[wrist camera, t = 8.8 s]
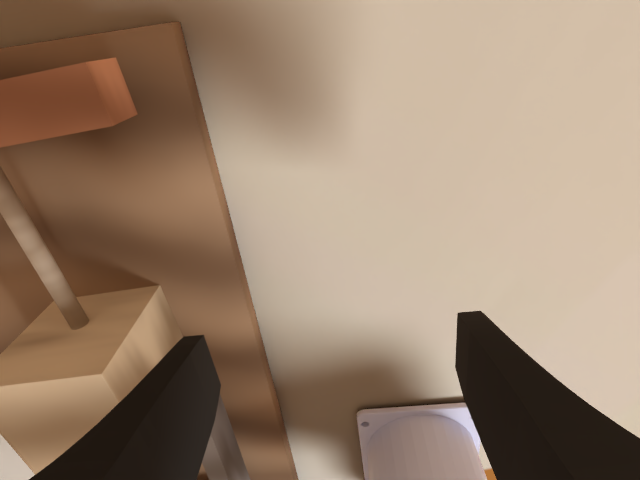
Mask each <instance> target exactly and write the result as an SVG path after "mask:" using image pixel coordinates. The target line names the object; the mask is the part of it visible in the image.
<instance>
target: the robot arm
mask: <svg viewBox="0 0 640 480" xmlns="http://www.w3.org/2000/svg"><path fill="white" fill-rule="evenodd" d="M455 368H456V371H457V375H458V379H459V382H460V386H461V389H462V393H463V396H464V400H465V403H450V404H435V405H421V406H406V407H391V408H377V409H363V410H360V411H358V413H357V424H358V431H359V439H360V447H361V455H362V463H363V470H364V478H365V480H487V478H486V475H485V472H484V469H483V466H482V463H481V461H480V458H479V449H480V440H481V442H482V445H483V447H484V450H485V452H486V454H487V457H488V459H489V462H490V464H491V467H492V469H493V471H494V474H495V476H496V479H497V480H640V438H638V437H637V436H635V435H634V434H632V433H631V432H629V431H627V430H626V429H624V428H623V427H621V426H620V425H618V424H617V423H615V422H614V421H613V420H611V419H610V418H608V417H607V416H605V415H604V414H602V413H601V412H599V411H598V410H597V409H595V408H594V407H592V406H591V405H589V404H588V403H587V402H585V401H584V400H583V399H581V398H580V397H579V396H577V395H576V394H575V393H573V392H572V391H571V390H570V389H568V388H567V387H566V386H565V385H563V384H562V383H561V382H560V381H558V380H557V379H556V378H555V377H553V376H552V375H551V374H550V373H549V372H547V371H546V370H545V369H544V368H543V367H541V366H540V365H539V364H538V363H537V362H536V361H535V360H533V359H532V358H531V357H530V356H529V355H528V354H526V353H525V352H524V351H523V350H522V349H521V348H520V347H519V346H518V345H516V344H515V343H514V342H513V341H512V340H511V339H510V338H509V337H508V336H507V335H506V334H505V333H504V332H503V331H501V330H500V329H499V328H498V327H497V326H496V325H495V324H494V323H493V322H492V321H491V320H490V319H489V318H488V317H487V316H486V315H485V314H484V313H482V312H481V311H473V312H462V313H458V317H457V341H456V365H455ZM220 389H221V383H220V380H219V377H218V374H217V372H216V369H215V366H214V363H213V360H212V357H211V354H210V351H209V348H208V346H207V343H206V340H205V337H204V335H195V336H184V337H183V338H182V339H180V340H179V341H178V342H177V343H176V345H175V346H174V347H173V348H172V349H171V350H170V351H169V352H168V353H167V354H166V355H165V356H164V357H163V358H162V359H161V360H160V361H159V363H158V364H157V365H156V366H155V367H154V368H153V369H152V370H151V371H150V372H149V373H148V374H147V375H146V376H145V377H144V378H143V379H142V380H141V381H140V382H139V383H138V384H137V385H136V387H135V388H134V389H133V390H132V391H131V392H130V393H129V394H128V395H127V396H126V397H125V398H124V399H122V400H121V401H120V402H119V403H118V404H117V405H116V406H115V407H114V408H113V409H112V410H111V411H110V412H109V413H108V414H107V415H106V416H105V417H104V418H103V419H102V420H101V421H100V422H99V423H97V424H96V425H95V426H94V427H93V428H92V429H91V430H90V431H89V432H87V433H86V434H85V435H84V436H83V437H82V438H81V439H79V440H78V441H77V442H76V443H75V444H73V445H72V446H71V447H70V448H69V449H67V450H66V451H65V452H64V453H63V454H62V455H60V456H59V457H58V458H57V459H55V460H54V461H53V462H52V463H50V464H49V465H48V466H46V467H45V468H44V469H42V470H41V471H40V472H38V473H37V474H36V475H34V476H33V477H32V478H30V479H29V480H197V477H198V473H199V470H200V467H201V464H202V461H203V457H204V454H205V451H206V448H207V445H208V441H209V438H210V435H211V431H212V428H213V425H214V421H215V417H216V412H217V407H218V401H219V395H220Z"/></svg>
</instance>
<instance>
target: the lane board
mask: <svg viewBox="0 0 640 480" xmlns="http://www.w3.org/2000/svg"><path fill="white" fill-rule="evenodd" d="M115 57H116V59H117V62H118V64H119V67H120V69H121V72H122V75H123V77H124V80H125V82H126V85H127V88H128V90H129V93H130V95H131V98H132V101H133V103H134V106H135V108H136V111H137V115H135V116H133V117H131V118H129V119H127V120H125V121H122V122H120V123H118V124H116V125H114V126H110V127H105V128H100V129H95V130H90V131H84V132H79V133H74V134H69V135H63V136H58V137H53V138H48V139H42V140H37V141H32V142H27V143H22V144H16V145H11V146H6V147H1V148H0V166H1V168H2V170H3V171H4V173H5V175H6V176H7V178H8V180H9V182H10V183H11V185H12V187H13V189H14V190H15V192H16V194H17V196H18V197H19V199H20V201H21V202H22V204H23V206H24V208H25V209H26V211H27V213H28V215H29V216H30V218H31V220H32V222H33V223H34V225H35V227H36V229H37V230H38V232H39V234H40V235H41V237H42V239H43V241H44V242H45V244H46V246H47V248H48V249H49V251H50V253H51V255H52V256H53V258H54V260H55V261H56V263H57V265H58V267H59V268H60V270H61V272H62V274H63V275H64V277H65V279H66V281H67V282H68V284H69V286H70V288H71V289H72V291H73V293H74V294H75V296H76V297H81V296H87V295H94V294H101V293H108V292H115V291H122V290H129V289H136V288H143V287H150V286H157V285H160V286H161V289H162V291H163V293H164V295H165V298H166V300H167V302H168V304H169V306H170V309H171V311H172V313H173V315H174V318H175V320H176V322H177V324H178V327H179V329H180V331H181V333H182V336H183V337H184V336H195V335H204V337H205V340H206V343H207V346H208V348H209V351H210V354H211V357H212V360H213V363H214V366H215V369H216V372H217V374H218V377H219V380H220V383H221V389H220V395H219V401H218V407H217V412H216V417H215V421H214V425H213V428H212V431H211V435H210V438H209V441H208V445H207V448H206V451H205V454H204V457H203V461H202V464H201V467H200V470H199V473H198V477H197V480H298V476H297V473H296V469H295V465H294V461H293V457H292V453H291V449H290V446H289V442H288V438H287V434H286V430H285V426H284V422H283V418H282V415H281V411H280V407H279V403H278V399H277V395H276V391H275V388H274V384H273V380H272V376H271V372H270V368H269V364H268V361H267V357H266V353H265V349H264V345H263V341H262V337H261V333H260V330H259V326H258V322H257V318H256V314H255V310H254V306H253V303H252V299H251V295H250V291H249V287H248V283H247V279H246V276H245V272H244V268H243V264H242V260H241V256H240V252H239V249H238V245H237V241H236V237H235V233H234V229H233V225H232V221H231V218H230V214H229V210H228V206H227V202H226V198H225V194H224V191H223V187H222V183H221V179H220V175H219V171H218V167H217V164H216V160H215V156H214V152H213V148H212V144H211V140H210V136H209V133H208V129H207V125H206V121H205V117H204V113H203V109H202V106H201V102H200V98H199V94H198V90H197V86H196V82H195V79H194V75H193V71H192V67H191V63H190V59H189V55H188V51H187V48H186V44H185V40H184V36H183V32H182V28H181V24H180V22H169V23H163V24H156V25H150V26H143V27H137V28H130V29H123V30H117V31H110V32H104V33H97V34H91V35H84V36H77V37H71V38H64V39H58V40H51V41H45V42H38V43H31V44H25V45H18V46H12V47H5V48H0V80H3V79H8V78H13V77H18V76H22V75H27V74H32V73H37V72H41V71H46V70H51V69H56V68H60V67H65V66H70V65H74V64H79V63H84V62H90V61H96V60H103V59H109V58H115ZM53 301H54V300H53V298H52V297H51V295H50V293H49V292H48V290H47V288H46V287H45V285H44V283H43V282H42V280H41V279H40V277H39V275H38V274H37V272H36V270H35V269H34V267H33V265H32V264H31V262H30V261H29V259H28V257H27V256H26V254H25V252H24V251H23V249H22V247H21V246H20V244H19V243H18V241H17V239H16V238H15V236H14V234H13V233H12V231H11V229H10V228H9V226H8V225H7V223H6V221H5V220H4V218H3V216H2V215H1V213H0V354H1V353H2V352H3V351H4V350H5V349H6V348H7V347H8V346H9V345H10V344H11V343H12V342H13V341H14V340H15V339H16V338H17V337H18V336H19V335H20V334H21V333H22V332H23V331H24V330H25V329H26V328H27V327H28V326H29V325H30V324H31V323H32V322H33V321H34V320H35V319H36V318H37V317H38V316H39V315H40V314H41V313H42V312H43V311H44V310H45V309H46V308H47V307H48V306H49V305H50V304H51V303H52V302H53Z"/></svg>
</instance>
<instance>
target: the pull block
mask: <svg viewBox="0 0 640 480" xmlns="http://www.w3.org/2000/svg"><path fill="white" fill-rule="evenodd" d="M135 115H137V111H136V108H135V106H134V103H133V101H132V98H131V95H130V93H129V90H128V88H127V85H126V82H125V80H124V77H123V75H122V72H121V69H120V67H119V64H118V62H117V59H116V57H115V58H109V59H103V60H96V61H90V62H84V63H79V64H74V65H70V66H65V67H60V68H56V69H51V70H46V71H41V72H37V73H32V74H27V75H22V76H18V77H13V78H8V79H3V80H0V148H1V147H6V146H11V145H16V144H22V143H27V142H32V141H37V140H42V139H48V138H53V137H58V136H63V135H69V134H74V133H79V132H84V131H90V130H95V129H100V128H105V127H110V126H114V125H116V124H118V123H120V122H122V121H125V120H127V119H129V118H131V117H133V116H135ZM0 213H1V215H2V216H3V218H4V220H5V221H6V223H7V225H8V226H9V228H10V229H11V231H12V233H13V234H14V236H15V238H16V239H17V241H18V243H19V244H20V246H21V247H22V249H23V251H24V252H25V254H26V256H27V257H28V259H29V261H30V262H31V264H32V265H33V267H34V269H35V270H36V272H37V274H38V275H39V277H40V279H41V280H42V282H43V283H44V285H45V287H46V288H47V290H48V292H49V293H50V295H51V297H52V298H53V300H54V301H53V302H52V303H51V304H50V305H49V306H48V307H47V308H46V309H45V310H44V311H43V312H42V313H41V314H40V315H39V316H38V317H37V318H36V319H35V320H34V321H33V322H32V323H31V324H30V325H29V326H28V327H27V328H26V329H25V330H24V331H23V332H22V333H21V334H20V335H19V336H18V337H17V338H16V339H15V340H14V341H13V342H12V343H11V344H10V345H9V346H8V347H7V348H6V349H5V350H4V351H3V352H2V353H1V354H0V434H1V435H2V436H3V437H4V438H5V440H6V441H7V442H8V443H9V444H10V445H11V447H12V448H13V449H14V450H15V451H16V452H17V454H18V455H19V456H20V457H21V458H22V460H23V461H24V462H25V463H26V464H27V465H28V467H29V468H30V469H31V470H32V471H33V472H34V474H35V475H36V474H37V473H38V472H40V471H41V470H42V469H44V468H45V467H46V466H48V465H49V464H50V463H52V462H53V461H54V460H55V459H57V458H58V457H59V456H60V455H62V454H63V453H64V452H65V451H66V450H67V449H69V448H70V447H71V446H72V445H73V444H75V443H76V442H77V441H78V440H79V439H81V438H82V437H83V436H84V435H85V434H86V433H87V432H89V431H90V430H91V429H92V428H93V427H94V426H95V425H96V424H97V423H99V422H100V421H101V420H102V419H103V418H104V417H105V416H106V415H107V414H108V413H109V412H110V411H111V410H112V409H113V408H114V407H115V406H116V405H117V404H118V403H119V402H120V401H121V400H122V399H124V398H125V397H126V396H127V395H128V394H129V393H130V392H131V391H132V390H133V389H134V388H135V387H136V385H137V384H138V383H139V382H140V381H141V380H142V379H143V378H144V377H145V376H146V375H147V374H148V373H149V372H150V371H151V370H152V369H153V368H154V367H155V366H156V365H157V364H158V363H159V361H160V360H161V359H162V358H163V357H164V356H165V355H166V354H167V353H168V352H169V351H170V350H171V349H172V348H173V347H174V346H175V345H176V343H177V342H178V341H179V340H180V339H182V338H183V336H182V333H181V331H180V329H179V327H178V324H177V322H176V320H175V318H174V315H173V313H172V311H171V309H170V306H169V304H168V302H167V300H166V298H165V295H164V293H163V291H162V289H161V286H160V285H157V286H150V287H143V288H136V289H129V290H122V291H115V292H108V293H101V294H94V295H87V296H81V297H76V296H75V294H74V293H73V291H72V289H71V288H70V286H69V284H68V282H67V281H66V279H65V277H64V275H63V274H62V272H61V270H60V268H59V267H58V265H57V263H56V261H55V260H54V258H53V256H52V255H51V253H50V251H49V249H48V248H47V246H46V244H45V242H44V241H43V239H42V237H41V235H40V234H39V232H38V230H37V229H36V227H35V225H34V223H33V222H32V220H31V218H30V216H29V215H28V213H27V211H26V209H25V208H24V206H23V204H22V202H21V201H20V199H19V197H18V196H17V194H16V192H15V190H14V189H13V187H12V185H11V183H10V182H9V180H8V178H7V176H6V175H5V173H4V171H3V170H2V168H1V166H0Z"/></svg>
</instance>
